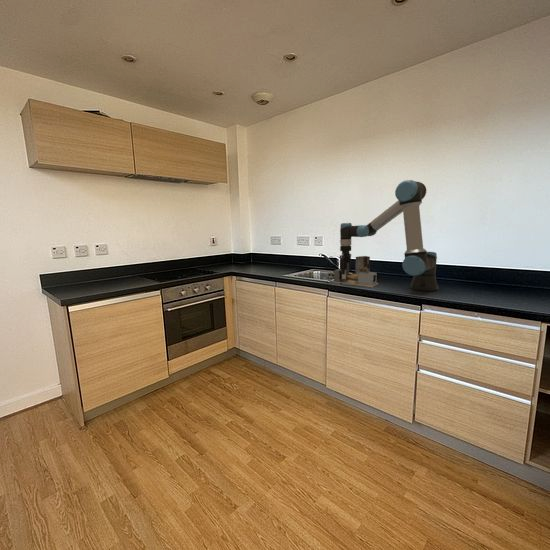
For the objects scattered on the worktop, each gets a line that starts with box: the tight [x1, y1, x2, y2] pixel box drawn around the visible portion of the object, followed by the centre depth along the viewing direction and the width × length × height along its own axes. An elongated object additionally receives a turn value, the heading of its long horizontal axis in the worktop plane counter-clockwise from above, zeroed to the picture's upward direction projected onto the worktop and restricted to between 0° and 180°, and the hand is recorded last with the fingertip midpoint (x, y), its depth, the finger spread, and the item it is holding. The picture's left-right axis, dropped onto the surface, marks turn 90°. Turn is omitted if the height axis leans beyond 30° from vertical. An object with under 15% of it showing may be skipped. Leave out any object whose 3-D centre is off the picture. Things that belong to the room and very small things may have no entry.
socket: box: [333, 268, 342, 282], centre depth 206 cm, size 4×8×8 cm, turn 140°
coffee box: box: [354, 255, 371, 274], centre depth 222 cm, size 9×6×16 cm
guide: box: [331, 271, 380, 288], centre depth 199 cm, size 30×10×8 cm, turn 50°
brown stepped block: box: [340, 262, 358, 281], centre depth 200 cm, size 18×4×13 cm, turn 50°
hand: (345, 278), depth 203 cm, fingers closed on brown stepped block, 4 cm apart
